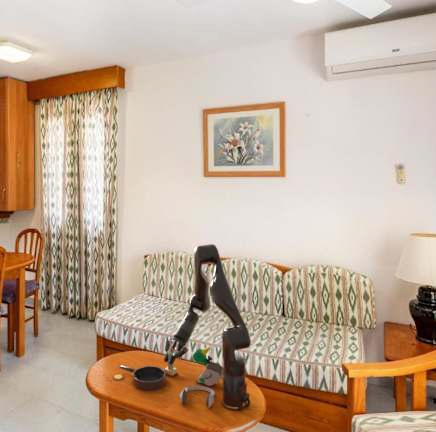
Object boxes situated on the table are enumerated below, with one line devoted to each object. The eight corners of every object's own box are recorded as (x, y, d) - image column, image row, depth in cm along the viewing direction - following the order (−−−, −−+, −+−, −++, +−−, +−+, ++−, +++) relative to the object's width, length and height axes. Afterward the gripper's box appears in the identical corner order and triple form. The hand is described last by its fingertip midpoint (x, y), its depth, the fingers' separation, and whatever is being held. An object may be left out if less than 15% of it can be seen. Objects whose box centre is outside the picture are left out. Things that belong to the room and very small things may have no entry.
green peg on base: (177, 374, 190) (177, 352, 189) (172, 377, 186) (172, 355, 185) (168, 371, 192) (168, 350, 191) (164, 374, 189) (164, 353, 188)
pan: (171, 380, 184) (171, 371, 183) (152, 395, 171) (152, 385, 170) (146, 371, 192) (146, 363, 191) (126, 385, 179) (126, 376, 179)
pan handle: (138, 373, 186) (138, 369, 185) (135, 374, 184) (135, 371, 184) (121, 367, 191) (121, 364, 191) (118, 368, 190) (118, 365, 190)
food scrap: (119, 379, 183) (119, 381, 183) (124, 375, 186) (124, 377, 186) (112, 377, 185) (112, 378, 185) (117, 373, 188) (117, 375, 188)
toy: (235, 376, 174) (202, 344, 178) (212, 402, 177) (179, 369, 181) (237, 371, 180) (205, 340, 184) (214, 395, 183) (183, 364, 187)
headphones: (210, 415, 155) (217, 396, 174) (211, 400, 155) (218, 383, 174) (168, 408, 159) (180, 390, 178) (169, 394, 159) (180, 378, 179)
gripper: (171, 323, 197) (153, 354, 190) (192, 331, 188) (174, 363, 180) (178, 331, 202) (161, 361, 194) (198, 338, 192) (182, 370, 185)
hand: (167, 362), depth 187 cm, fingers closed on green peg on base, 2 cm apart
